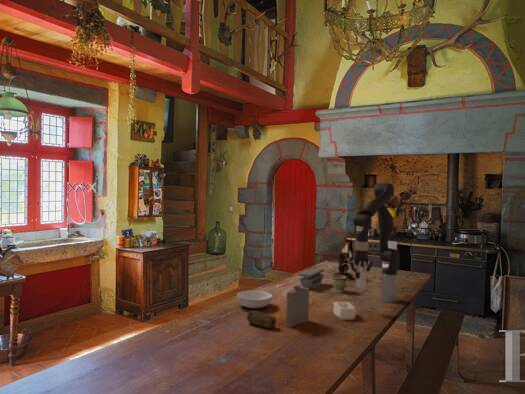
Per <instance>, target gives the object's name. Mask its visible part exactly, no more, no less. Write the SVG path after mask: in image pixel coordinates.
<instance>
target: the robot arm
mask: <svg viewBox="0 0 525 394" xmlns="http://www.w3.org/2000/svg"><path fill="white" fill-rule="evenodd" d="M373 190H374V193H373V194H374V197H375V198H373V199H371V200H370V201H368V203H366V205H365V206H364V207H363V209H360V210H359V211H358V212H356V213H354V216H353V218H352V224H353V225H354V226H356V227H359V228H362V229H361V230H357V231H356V232H355V240H354V241H355V243H354V259H353V260H349V261H348V262H349V265H350V268H351V271H352V272H354V273H355V274H354V276H355V280H356V279H359V273H358V272H359V269H363V270H364V271H366V274H367V273H368V272H370V271H371V268H372V266H373V263H374V261H371V260H369V233H370V229H371V226H372V222H373V220H372V218H373V217H374V216H375V215H376V213H377V224H378V235H379V258H380V261H381V262H383V263H388V266H387V267H384V268H382V270H381V289H380V301H383V302H385V303H396V302H398V300H399V299H398V295H399V287H398V285H397V284H398V270H399V266H400V265H399V264H400V263H399V262H400V252H399V250H397V249H396V248H390V247H389V240H390V237H391V236H392V233H393V231H394V229H395V227H394V226H395V225H394V217H393V215H392V213H391V212H390V210H389V209H388V208H387V206H386V202H388V201H389V200H390V199H391V198H392V197H393V196H394V194H395V186H394V184H392V183H389V182H379V183H375V185H374V189H373Z"/></svg>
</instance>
